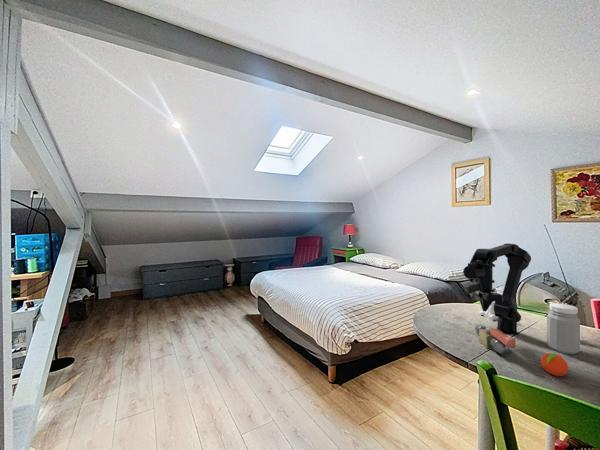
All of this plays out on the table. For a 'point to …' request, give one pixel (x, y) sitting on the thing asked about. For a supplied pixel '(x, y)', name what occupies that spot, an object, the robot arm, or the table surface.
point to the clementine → (554, 364)
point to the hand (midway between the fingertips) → (484, 311)
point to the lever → (501, 337)
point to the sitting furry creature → (490, 312)
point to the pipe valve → (491, 341)
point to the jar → (563, 328)
